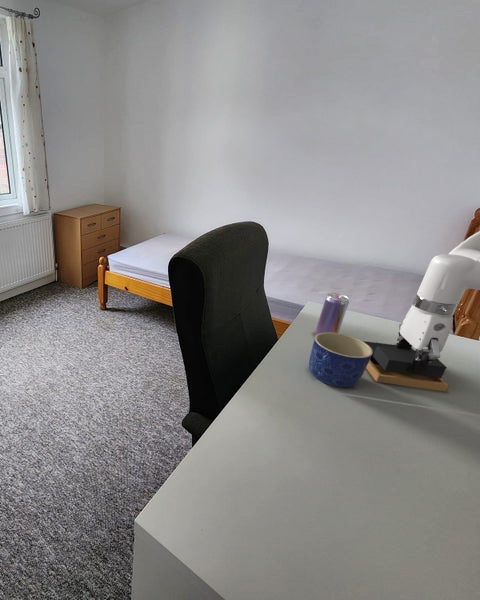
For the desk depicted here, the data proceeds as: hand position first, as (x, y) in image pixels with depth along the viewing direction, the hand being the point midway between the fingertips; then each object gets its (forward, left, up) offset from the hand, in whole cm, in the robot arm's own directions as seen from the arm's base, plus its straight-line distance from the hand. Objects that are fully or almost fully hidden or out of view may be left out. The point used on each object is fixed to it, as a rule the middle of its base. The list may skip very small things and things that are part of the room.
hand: (406, 363), depth 91 cm
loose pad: (0, 0, -1) cm, 1 cm away
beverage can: (+13, -18, -5) cm, 23 cm away
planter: (+18, +5, -5) cm, 19 cm away
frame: (0, -4, -5) cm, 6 cm away
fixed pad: (0, -8, -4) cm, 9 cm away
